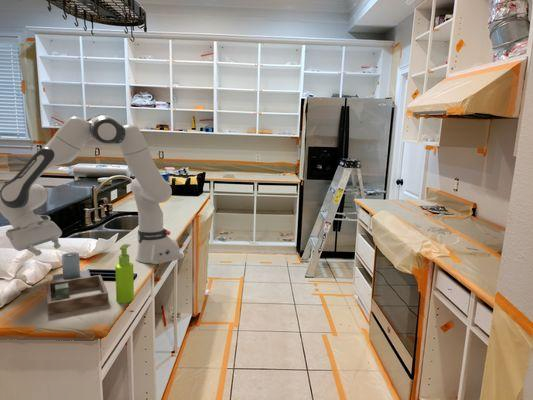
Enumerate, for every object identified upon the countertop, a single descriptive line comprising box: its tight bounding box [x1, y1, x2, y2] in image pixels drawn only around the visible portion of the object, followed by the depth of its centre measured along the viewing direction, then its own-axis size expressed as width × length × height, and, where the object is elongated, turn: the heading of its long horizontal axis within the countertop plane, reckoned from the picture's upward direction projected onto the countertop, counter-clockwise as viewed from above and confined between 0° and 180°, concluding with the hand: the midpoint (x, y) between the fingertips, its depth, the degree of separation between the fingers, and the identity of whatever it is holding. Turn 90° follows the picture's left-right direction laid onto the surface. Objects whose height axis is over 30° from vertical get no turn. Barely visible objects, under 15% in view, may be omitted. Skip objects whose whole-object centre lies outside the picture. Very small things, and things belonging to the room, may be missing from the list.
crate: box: [46, 274, 109, 316], centre depth 128 cm, size 18×18×4 cm
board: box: [52, 269, 91, 282], centre depth 143 cm, size 13×9×2 cm
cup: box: [61, 251, 81, 279], centre depth 142 cm, size 6×6×9 cm
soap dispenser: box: [115, 243, 135, 304], centre depth 128 cm, size 6×7×20 cm
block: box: [54, 283, 70, 301], centre depth 129 cm, size 4×4×4 cm
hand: (49, 251), depth 143 cm, fingers open, 8 cm apart
